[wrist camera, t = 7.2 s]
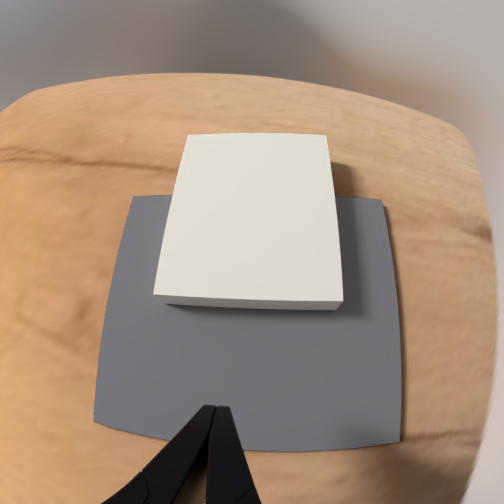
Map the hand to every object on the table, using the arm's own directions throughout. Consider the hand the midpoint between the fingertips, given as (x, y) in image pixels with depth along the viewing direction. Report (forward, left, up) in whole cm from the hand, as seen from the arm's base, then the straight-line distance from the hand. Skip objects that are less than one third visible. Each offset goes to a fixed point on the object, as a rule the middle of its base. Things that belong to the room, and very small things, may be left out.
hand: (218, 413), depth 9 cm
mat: (+5, 0, -7) cm, 9 cm away
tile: (+5, 0, -6) cm, 8 cm away
